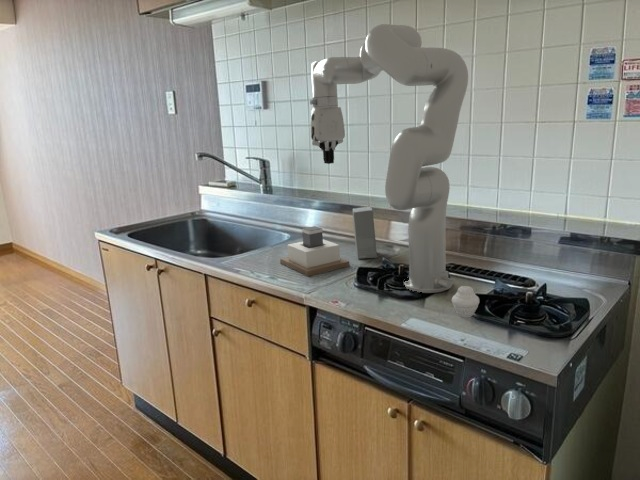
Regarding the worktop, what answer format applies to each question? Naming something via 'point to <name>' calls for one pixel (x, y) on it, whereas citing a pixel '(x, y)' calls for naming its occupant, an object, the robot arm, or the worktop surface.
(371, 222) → the skincare box
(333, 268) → the socket
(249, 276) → the worktop surface
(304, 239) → the plug
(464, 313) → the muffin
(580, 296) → the worktop surface
